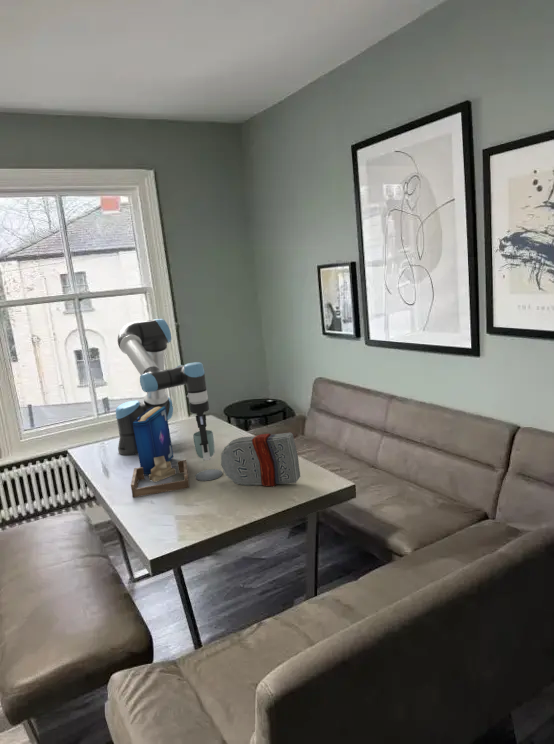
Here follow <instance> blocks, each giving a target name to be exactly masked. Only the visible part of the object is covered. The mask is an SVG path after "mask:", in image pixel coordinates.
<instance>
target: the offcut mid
mask: <svg viewBox="0 0 554 744" xmlns="http://www.w3.org/2000/svg"><path fill="white" fill-rule="evenodd" d="M166 466H167V468H164V469H159V470H156V467H153V468H152V469H151V475H152V476H162V475H164V474H165V473H166V472H167V471H168V470H169V469H171V468H172V463H171V460H170V461H167V462H166Z"/></svg>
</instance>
